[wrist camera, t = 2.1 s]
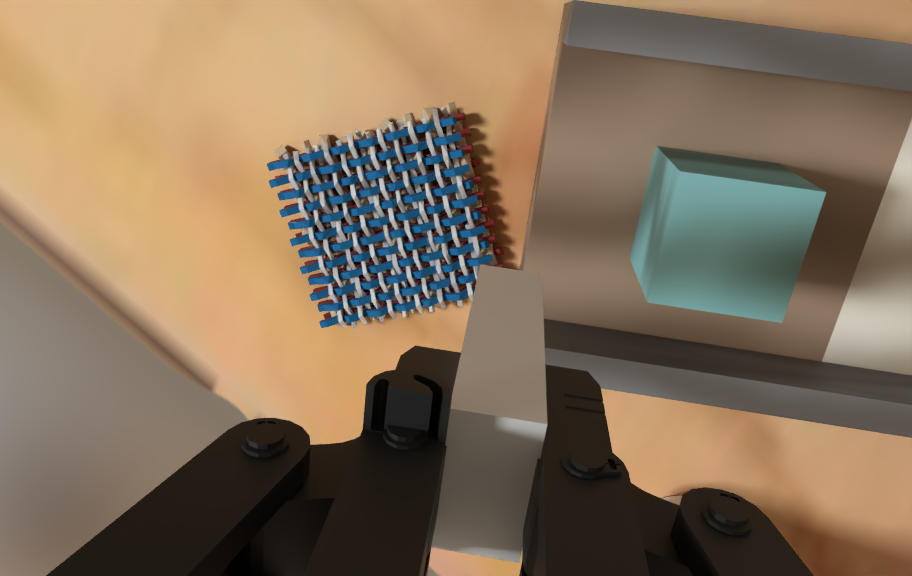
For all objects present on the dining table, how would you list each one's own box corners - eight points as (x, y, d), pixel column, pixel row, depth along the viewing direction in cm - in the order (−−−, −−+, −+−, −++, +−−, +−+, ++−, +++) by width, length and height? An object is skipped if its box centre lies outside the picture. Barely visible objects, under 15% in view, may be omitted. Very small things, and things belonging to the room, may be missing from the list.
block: (655, 145, 28) (680, 171, 24) (777, 163, 28) (826, 192, 23) (629, 258, 30) (647, 302, 26) (743, 275, 30) (782, 323, 25)
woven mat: (513, 287, 37) (512, 301, 35) (332, 324, 39) (322, 339, 37) (465, 95, 34) (462, 99, 32) (270, 146, 36) (255, 154, 34)
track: (564, 3, 31) (574, 0, 24) (1298, 100, 30) (1553, 128, 22) (514, 302, 37) (509, 373, 30) (1127, 396, 35) (1284, 497, 28)
